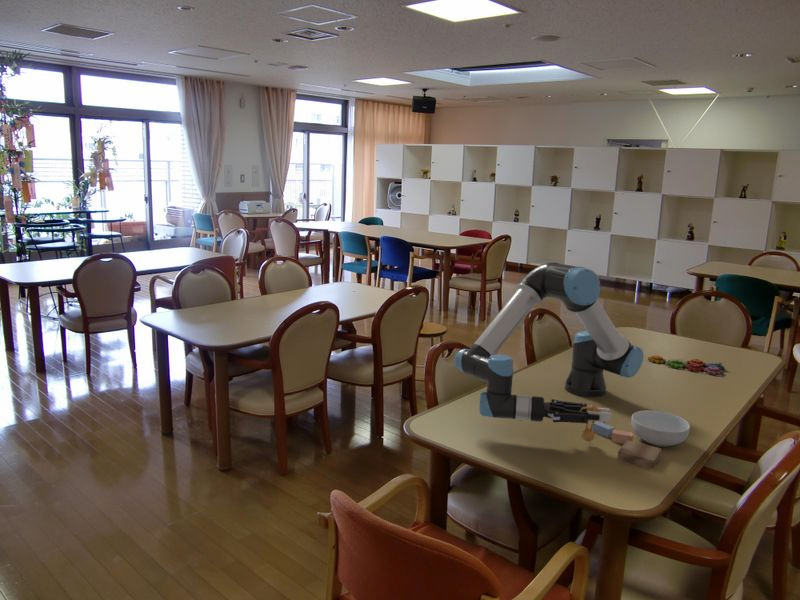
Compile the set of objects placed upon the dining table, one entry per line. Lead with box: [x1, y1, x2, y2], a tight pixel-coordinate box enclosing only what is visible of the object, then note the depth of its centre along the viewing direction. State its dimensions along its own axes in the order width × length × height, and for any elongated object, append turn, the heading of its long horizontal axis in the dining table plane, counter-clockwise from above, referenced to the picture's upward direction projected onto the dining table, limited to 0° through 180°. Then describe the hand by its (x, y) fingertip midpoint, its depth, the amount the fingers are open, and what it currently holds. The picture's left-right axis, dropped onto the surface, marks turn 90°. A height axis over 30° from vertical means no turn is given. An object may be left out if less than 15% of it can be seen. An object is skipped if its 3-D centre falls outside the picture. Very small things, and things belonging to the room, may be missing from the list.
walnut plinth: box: [617, 440, 663, 470], centre depth 185 cm, size 10×10×3 cm
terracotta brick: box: [611, 429, 634, 444], centre depth 196 cm, size 6×3×3 cm, turn 70°
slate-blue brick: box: [592, 421, 615, 439], centre depth 201 cm, size 6×3×3 cm, turn 37°
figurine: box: [580, 404, 606, 442], centre depth 191 cm, size 8×6×12 cm
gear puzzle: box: [647, 354, 726, 378], centre depth 277 cm, size 31×16×4 cm, turn 59°
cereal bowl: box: [630, 409, 691, 447], centre depth 196 cm, size 17×17×7 cm
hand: (609, 415), depth 189 cm, fingers closed on figurine, 3 cm apart
